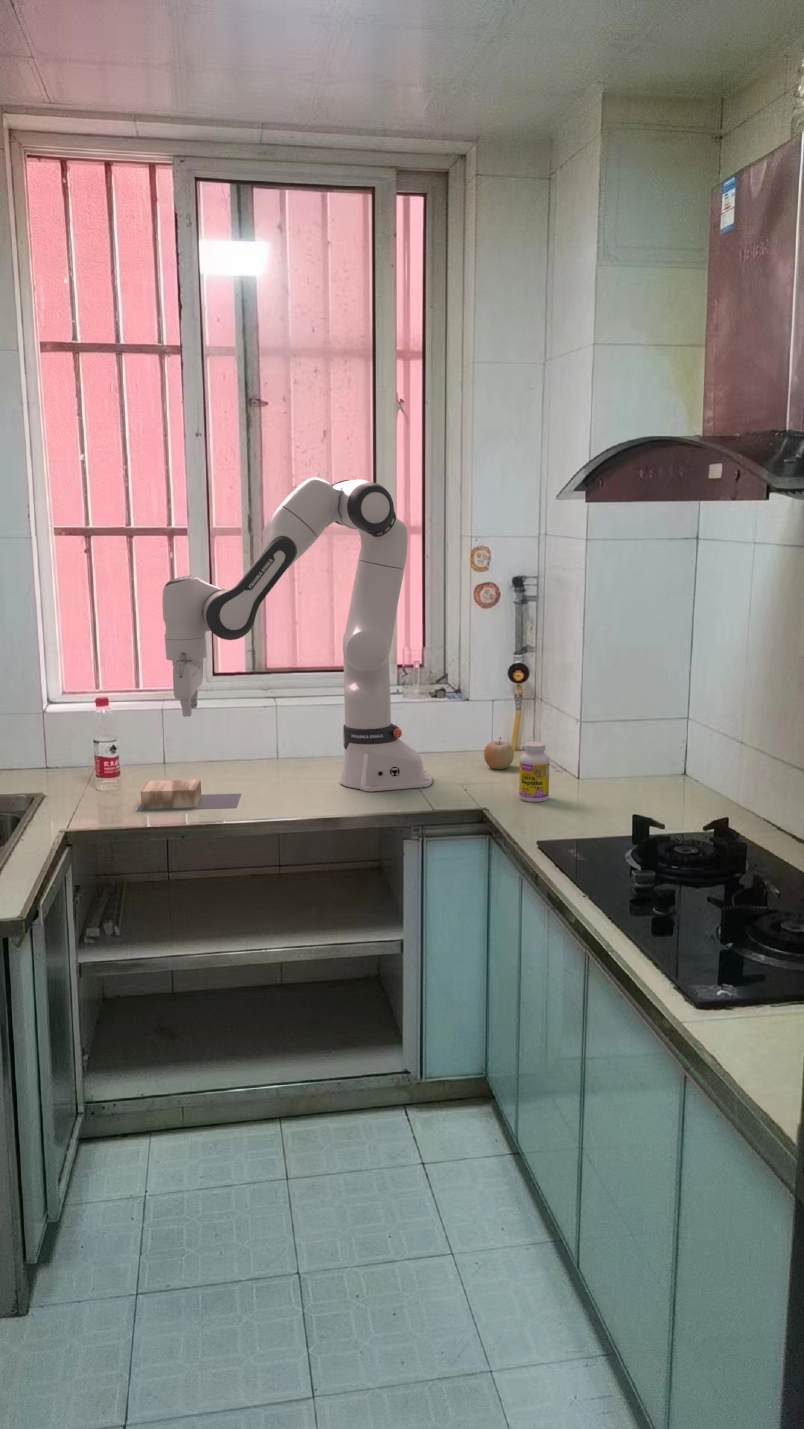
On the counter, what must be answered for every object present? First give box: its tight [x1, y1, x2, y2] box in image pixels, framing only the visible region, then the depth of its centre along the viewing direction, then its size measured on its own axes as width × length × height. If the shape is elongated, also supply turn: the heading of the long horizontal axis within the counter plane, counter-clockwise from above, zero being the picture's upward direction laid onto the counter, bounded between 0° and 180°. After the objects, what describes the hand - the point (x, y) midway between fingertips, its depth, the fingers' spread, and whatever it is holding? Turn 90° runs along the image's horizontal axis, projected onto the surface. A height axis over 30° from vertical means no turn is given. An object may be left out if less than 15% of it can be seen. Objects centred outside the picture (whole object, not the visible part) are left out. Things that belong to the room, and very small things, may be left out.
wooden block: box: [140, 779, 202, 809], centre depth 241 cm, size 4×9×12 cm
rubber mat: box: [136, 793, 243, 812], centre depth 242 cm, size 22×12×1 cm, turn 93°
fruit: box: [483, 736, 515, 770], centre depth 270 cm, size 8×7×8 cm
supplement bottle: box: [518, 741, 550, 803], centre depth 241 cm, size 7×7×13 cm
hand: (190, 711), depth 238 cm, fingers open, 8 cm apart
